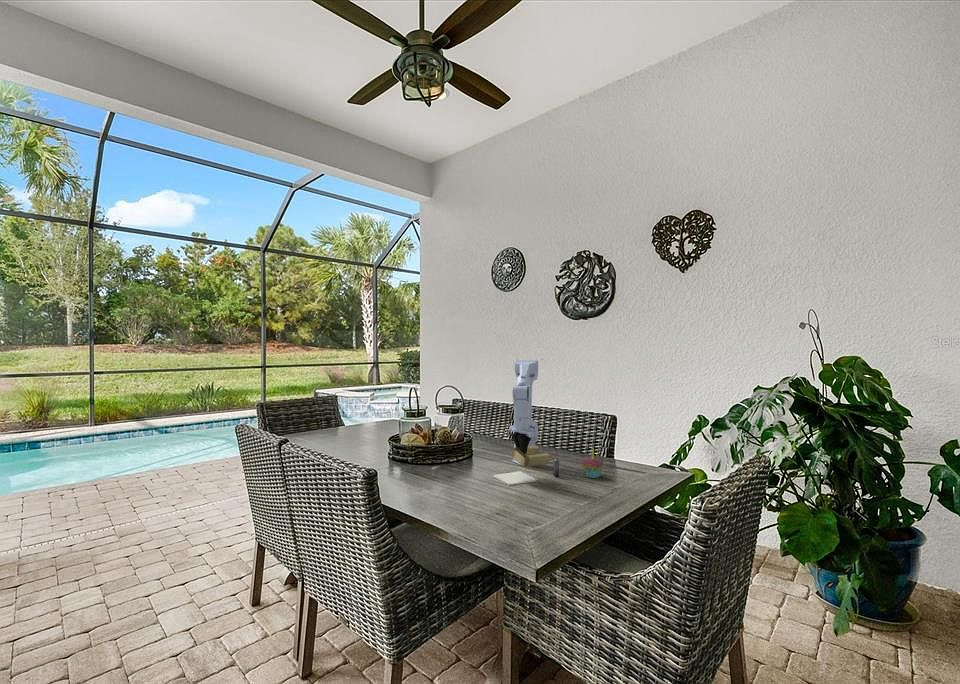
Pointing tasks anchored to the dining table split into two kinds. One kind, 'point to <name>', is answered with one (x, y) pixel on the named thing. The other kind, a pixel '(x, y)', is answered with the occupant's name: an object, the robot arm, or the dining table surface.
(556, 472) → the post
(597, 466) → the cupcake
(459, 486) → the dining table surface
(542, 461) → the c link
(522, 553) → the dining table surface
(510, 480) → the coaster
